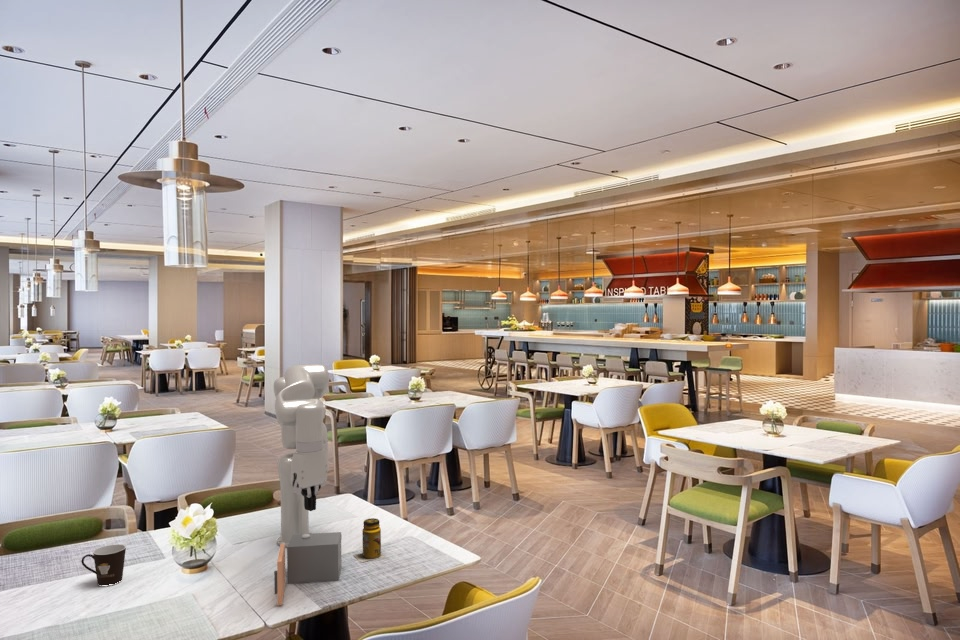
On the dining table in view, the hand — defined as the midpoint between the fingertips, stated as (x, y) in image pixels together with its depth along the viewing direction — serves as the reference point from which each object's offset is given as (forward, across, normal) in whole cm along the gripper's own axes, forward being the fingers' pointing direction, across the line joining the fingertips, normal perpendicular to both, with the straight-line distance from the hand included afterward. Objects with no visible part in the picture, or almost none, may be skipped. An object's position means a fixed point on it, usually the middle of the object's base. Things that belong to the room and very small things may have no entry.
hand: (310, 509), depth 179 cm
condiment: (+25, -29, -7) cm, 39 cm away
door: (+24, +6, -6) cm, 25 cm away
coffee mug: (+25, +32, -58) cm, 71 cm away
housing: (+25, -9, -10) cm, 28 cm away
